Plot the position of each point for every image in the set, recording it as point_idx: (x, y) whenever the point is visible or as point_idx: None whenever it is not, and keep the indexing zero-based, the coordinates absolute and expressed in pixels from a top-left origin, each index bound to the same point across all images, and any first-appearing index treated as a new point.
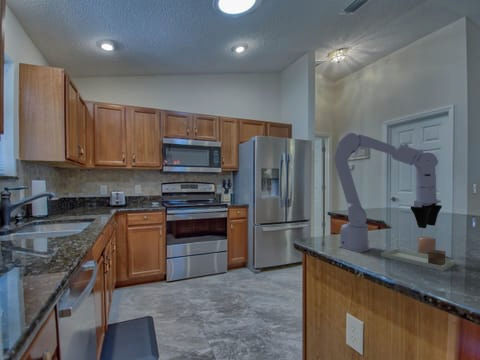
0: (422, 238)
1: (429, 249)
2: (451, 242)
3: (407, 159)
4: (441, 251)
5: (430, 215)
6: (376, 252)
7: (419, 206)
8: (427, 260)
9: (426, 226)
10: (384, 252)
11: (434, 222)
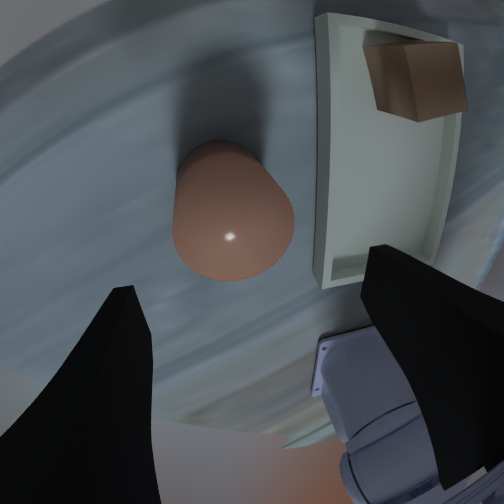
0: (272, 240)
1: (425, 118)
2: None
3: None
4: (423, 61)
5: (132, 417)
6: (351, 308)
7: None
8: (363, 122)
9: (379, 252)
10: (424, 261)
11: (128, 309)
